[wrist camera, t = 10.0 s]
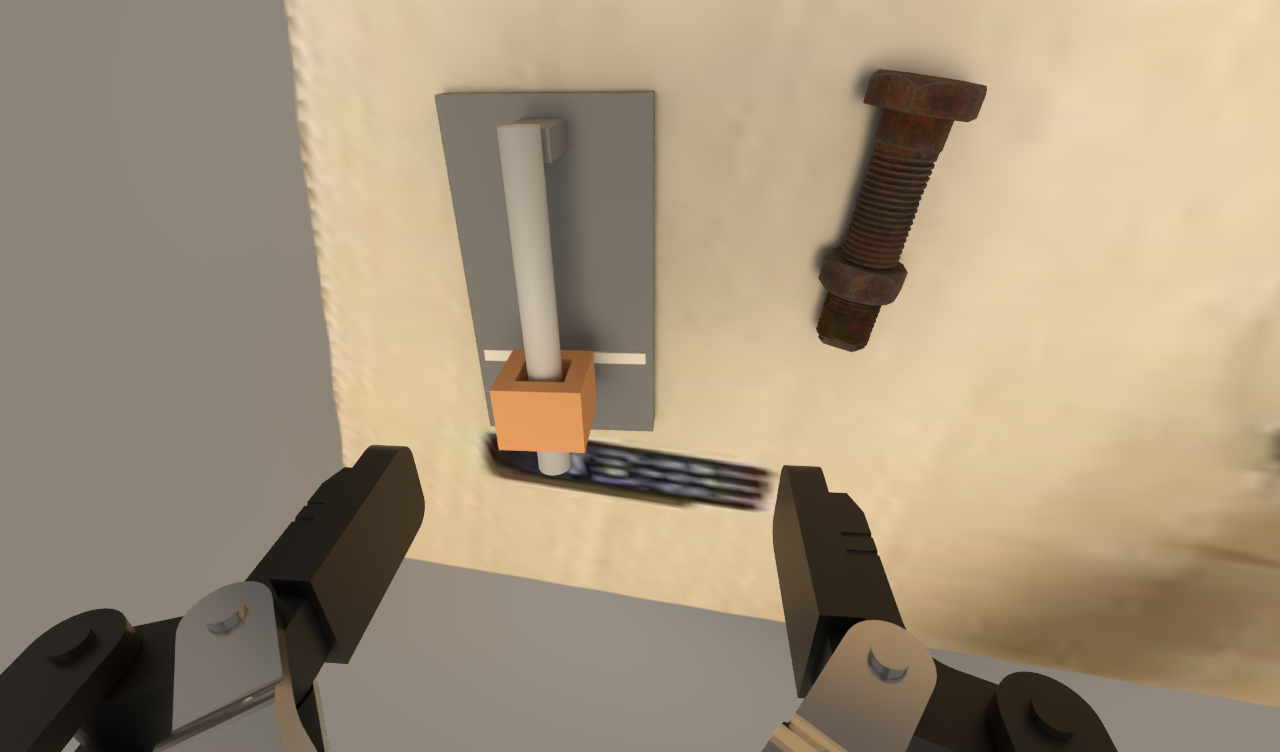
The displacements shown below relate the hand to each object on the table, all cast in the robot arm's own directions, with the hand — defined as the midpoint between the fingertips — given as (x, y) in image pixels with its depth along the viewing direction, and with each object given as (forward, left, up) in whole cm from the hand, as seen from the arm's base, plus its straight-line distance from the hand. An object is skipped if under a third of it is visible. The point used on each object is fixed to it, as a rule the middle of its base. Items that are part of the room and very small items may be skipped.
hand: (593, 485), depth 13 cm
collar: (+10, -6, -22) cm, 25 cm away
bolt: (+1, +13, -27) cm, 29 cm away
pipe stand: (+5, -6, -26) cm, 27 cm away
